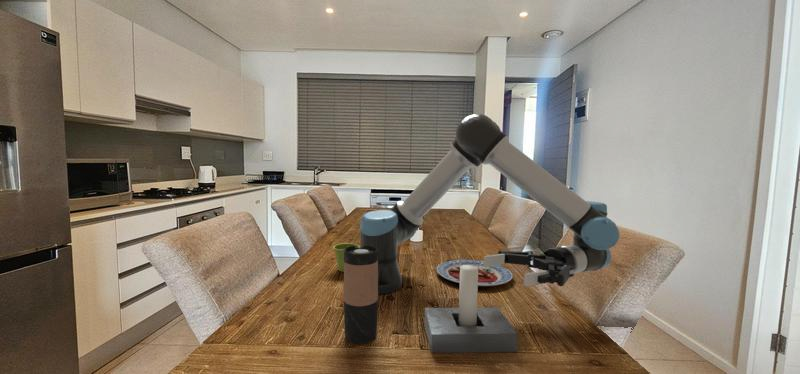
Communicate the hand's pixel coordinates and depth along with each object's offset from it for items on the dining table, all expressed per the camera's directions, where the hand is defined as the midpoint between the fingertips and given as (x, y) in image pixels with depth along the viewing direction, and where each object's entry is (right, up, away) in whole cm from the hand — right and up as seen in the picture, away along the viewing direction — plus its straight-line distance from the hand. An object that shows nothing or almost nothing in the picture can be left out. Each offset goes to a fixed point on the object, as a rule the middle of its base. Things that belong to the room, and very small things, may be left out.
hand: (503, 270), depth 76 cm
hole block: (-10, -14, -4) cm, 18 cm away
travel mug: (-34, -14, -4) cm, 37 cm away
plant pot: (-44, -10, +40) cm, 61 cm away
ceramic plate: (+1, -12, +35) cm, 37 cm away
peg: (-10, -14, -4) cm, 17 cm away
